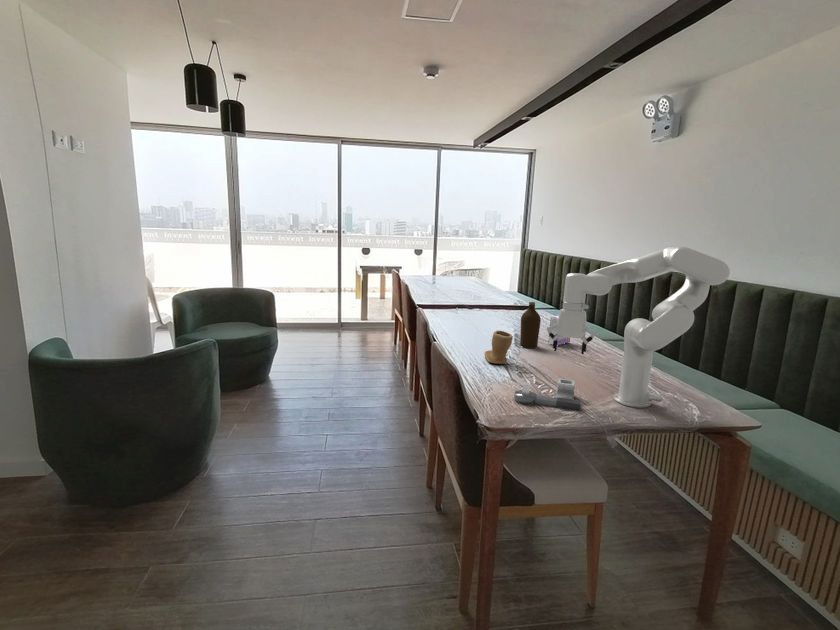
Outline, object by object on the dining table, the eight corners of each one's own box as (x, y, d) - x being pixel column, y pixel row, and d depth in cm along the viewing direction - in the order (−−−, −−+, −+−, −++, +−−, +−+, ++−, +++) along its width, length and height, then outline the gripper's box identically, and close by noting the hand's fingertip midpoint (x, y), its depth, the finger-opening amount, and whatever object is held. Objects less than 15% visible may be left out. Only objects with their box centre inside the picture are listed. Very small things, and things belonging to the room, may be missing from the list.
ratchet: (580, 404, 154) (582, 387, 153) (581, 412, 147) (583, 395, 145) (515, 395, 161) (516, 379, 160) (513, 402, 154) (514, 385, 153)
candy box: (561, 341, 250) (563, 313, 247) (570, 343, 246) (572, 315, 243) (547, 344, 241) (550, 316, 238) (556, 346, 237) (559, 317, 234)
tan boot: (512, 366, 198) (514, 335, 195) (487, 365, 198) (489, 334, 195) (507, 357, 213) (509, 328, 210) (484, 356, 213) (485, 327, 210)
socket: (572, 395, 163) (574, 380, 162) (573, 400, 158) (574, 385, 156) (556, 392, 165) (558, 378, 164) (556, 398, 159) (557, 383, 158)
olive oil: (524, 349, 229) (527, 303, 224) (515, 344, 239) (518, 300, 235) (541, 348, 231) (545, 303, 227) (532, 343, 242) (536, 300, 237)
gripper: (598, 307, 156) (592, 352, 159) (549, 303, 161) (545, 346, 164) (599, 310, 149) (594, 357, 152) (548, 306, 154) (544, 351, 157)
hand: (568, 351), depth 158 cm, fingers open, 9 cm apart
